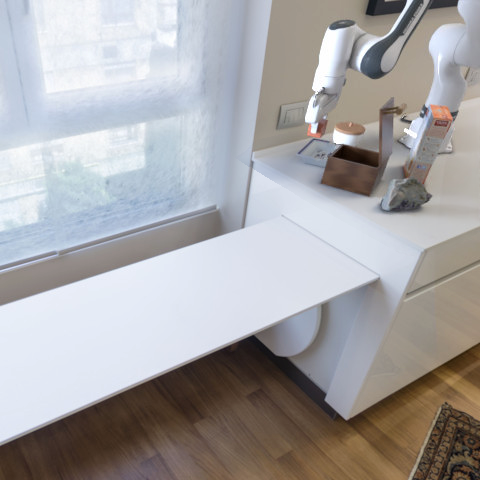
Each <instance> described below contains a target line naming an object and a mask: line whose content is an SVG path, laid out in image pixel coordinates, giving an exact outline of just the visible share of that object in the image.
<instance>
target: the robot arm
mask: <svg viewBox="0 0 480 480" xmlns="http://www.w3.org/2000/svg"><path fill="white" fill-rule="evenodd" d="M433 1H434V0H406V3H405V6H404V8H403V10H402V11H401V12H400V14H399V16H398V18H397V19H396V21H395V23H394V24H393V26H392V27H391V29H390V31H389V32H388V33H386V34H385V35H382V36H379V35H375V34H373V33H369V32H367V31H365V30H363V29H362V28H360V27H359V25H357V22H356V20H354V19H353V20H352V19H340V20H335V21H333V22H332V23H331V24H329V25H328V27H327V29H326V31H325V33H324V37H323V39H322V43H321V46H320V50H319V56H318V58H319V59H318V60H319V61H318V66H317V68H316V70H315V74H314V79H313V83H312V87H311V89H312V91H314V92H315V93H314V94H313V95H312V96H311V97H310V100H309V102H308V107H307V109H306V113H305V119H304V122H305V123H307V124H311V125H312V128H311V133H314V134H315V133H316V132H317V131H318V123H319V121H320V120H321V119H324V120H327V118H328V116H329V114H330V113H331V112H332V111H333V110H335V109H336V107H337V106H338V103H339V100H340V97H341V94H342V91H343V88H344V87H345V85H346V84H347V77H346V75H347V71H348V69H351V70H353V71H354V72H357V73H360V74H362V75H364V76H366V77H368V78H369V79H370V80H379V79H382V78H383V77H384V78H385V76H387V75H388V74H389V73H391V71H392V70H394V68H395V67H396V65H397V64H398V61H399V59H400V57H401V55H402V53H403V50H404V49H405V47H406V45H407V44H408V42H409V41H410V39H411V37H412V36H413V34H414V33H415V31H416V29H417V28H418V27H419V25H420V23H421V22H422V20H423V19H424V17H425V15H426V14H427V12H428V10H429V9H430V7H431V6H432V4H433ZM457 12H458V14H459V15H460V17H461V18H462V19H463V21H464V23H460V22H457V23H455V22H454V23H445V24H444V23H443V24H442V25H441V26H439V27H438V28H437V29H436V30H435V31H434V32H433V34H432V35H431V37H430V40H429V41H428V52H429V55H430V56H431V59H432V63H433V79H432V83H431V87H430V90H429V92H428V94H427V98H426V100H425V103H424V104H423V105H422V107H421V109H420V111H419V116H418V117H416V118H414V119H413V120H410V119H406V118H405V117H407V115H406V116H405V117H403V118H402V117H401V121H402V122H405V123H410V125H409V128H408V129H407V128H404V130H403V131H404V132H405V133H406V134H405V135H403V136H402V137H400V138H399V139H398V142H400V143H401V144H402V145H403V144H404V145H405V146H406V147H407V148H409V149H411V147H412V145H413V143H414V140H415V138H416V135H417V133H418V131H419V128H420V126H421V123H422V121H423V118H424V116H425V114H426V111H427V109H428V106H429V105H430V104H432V105H441V106H447V107H448V109H449V111H450V114H451V116H452V118H453V122H452V124H451V126H450V128H449V130H448V132H447V134H446V137H445V139H444V141H443V143H442V145H441V147H440V150H439V152H438V154H441V153H442V154H443V153H446V154H447V153H453V152H452V151H453V145H452V144H453V143H452V140H453V135H454V134H455V131H456V128H455V124H454V122H455V121H456V119H457V117H458V114H459V111H460V109H459V108H460V107H461V104H462V102H463V100H464V98H465V95H466V93H467V91H468V82H467V80H466V79H465V78H464V75H463V67H466V68H470V69H473V70H480V0H458V1H457Z"/></svg>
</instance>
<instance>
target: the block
mask: <svg viewBox="0 0 480 480" xmlns="http://www.w3.org/2000/svg"><path fill="white" fill-rule="evenodd" d="M328 122H329V120H328V119H326V120H324V119H321V120H320V121H319V123H318V131H317V132H316V133H315V134H314V133H311V128H312V125H311V124H310V123H308V124H309V125H308V129H307V132H306V136H308V137H312V138H317V139H321V138H322V137H323V136H325V133H326V129H327V126H328Z"/></svg>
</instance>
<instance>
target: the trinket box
mask: <svg viewBox="0 0 480 480" xmlns="http://www.w3.org/2000/svg"><path fill="white" fill-rule="evenodd" d="M365 132H366V128H365V126H364V125H362V124H359V123H356V122H353V121H341V122H337V123H336V124H335V125H334V129H333V134H332V142H333V144H334V143H336V144H346V145H350V146H355V147H358V146H359V144H360V143H361V141H362V140H363V137H364V134H365Z"/></svg>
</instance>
